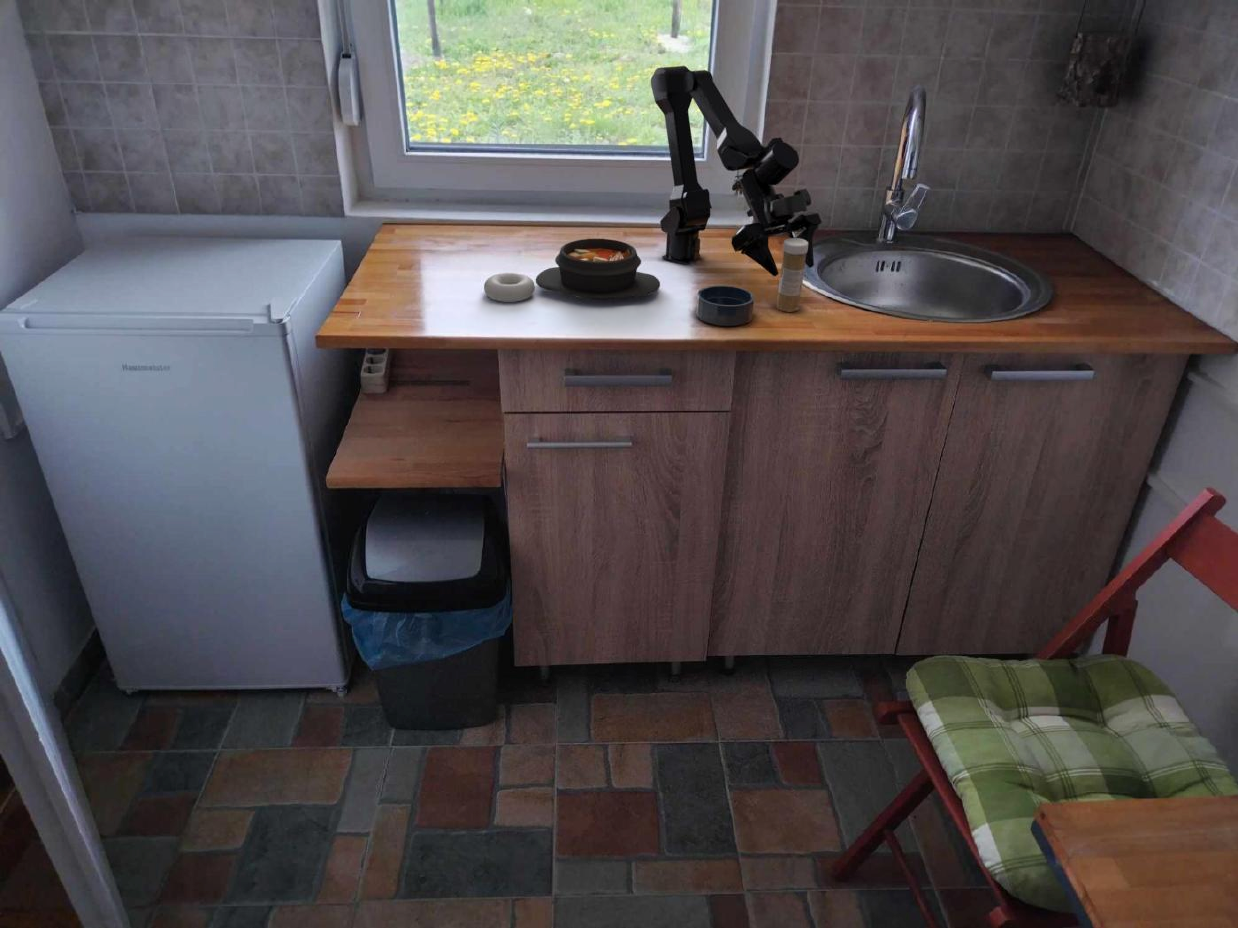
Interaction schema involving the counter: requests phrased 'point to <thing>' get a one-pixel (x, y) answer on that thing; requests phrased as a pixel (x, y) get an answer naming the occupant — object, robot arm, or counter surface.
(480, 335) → the counter surface
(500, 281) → the donut
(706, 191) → the robot arm
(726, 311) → the bowl
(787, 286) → the sprinkles bottle
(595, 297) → the casserole
